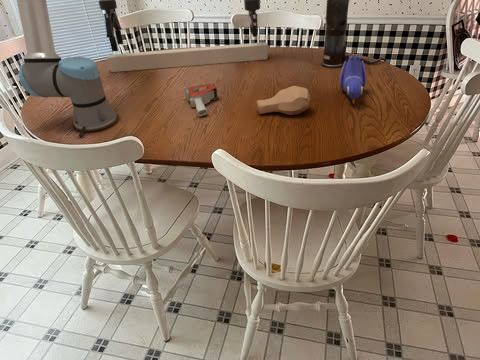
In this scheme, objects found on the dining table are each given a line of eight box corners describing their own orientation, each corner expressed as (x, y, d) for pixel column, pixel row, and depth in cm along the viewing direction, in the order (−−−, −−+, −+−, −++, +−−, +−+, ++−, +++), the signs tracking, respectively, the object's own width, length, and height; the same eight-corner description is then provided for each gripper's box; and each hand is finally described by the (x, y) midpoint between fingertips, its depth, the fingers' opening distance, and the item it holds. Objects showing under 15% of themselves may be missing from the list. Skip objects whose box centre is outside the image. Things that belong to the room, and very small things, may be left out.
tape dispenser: (202, 122, 132) (232, 99, 144) (201, 109, 128) (231, 87, 141) (166, 111, 139) (197, 89, 152) (164, 98, 136) (196, 78, 148)
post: (111, 72, 179) (107, 57, 175) (113, 69, 183) (109, 54, 179) (267, 59, 183) (267, 44, 178) (266, 56, 187) (266, 42, 182)
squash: (314, 116, 128) (313, 95, 122) (259, 125, 130) (256, 105, 124) (308, 99, 136) (307, 78, 129) (257, 108, 138) (253, 88, 131)
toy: (338, 94, 152) (340, 108, 129) (340, 53, 145) (343, 60, 123) (362, 94, 149) (368, 108, 127) (365, 52, 143) (373, 58, 120)
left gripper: (109, 3, 152) (121, 53, 164) (120, -5, 173) (129, 40, 185) (91, 4, 152) (104, 55, 164) (104, -4, 172) (115, 41, 184)
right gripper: (261, 0, 162) (263, 37, 172) (257, -5, 174) (259, 30, 183) (245, 1, 162) (247, 38, 171) (242, -3, 174) (244, 31, 183)
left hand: (118, 47), depth 174 cm, fingers open, 13 cm apart
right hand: (253, 34), depth 177 cm, fingers open, 8 cm apart
